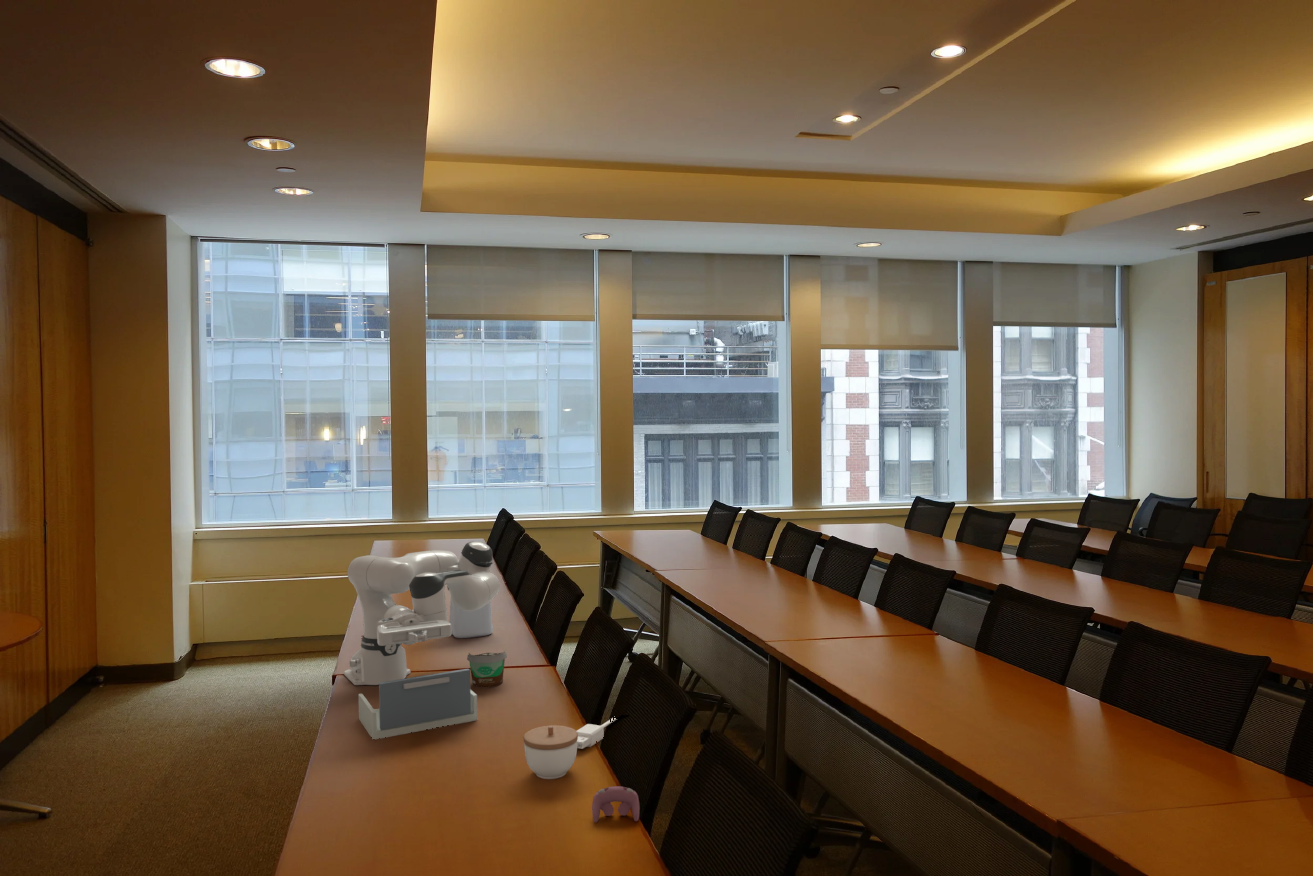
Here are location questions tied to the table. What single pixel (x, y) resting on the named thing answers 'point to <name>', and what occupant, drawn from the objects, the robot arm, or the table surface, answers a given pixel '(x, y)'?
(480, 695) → the table surface
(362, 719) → the tray
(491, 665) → the food container
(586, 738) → the charging cable
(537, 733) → the lidded bowl
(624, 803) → the video game controller
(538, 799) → the table surface
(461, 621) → the plastic bottle
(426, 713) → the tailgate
